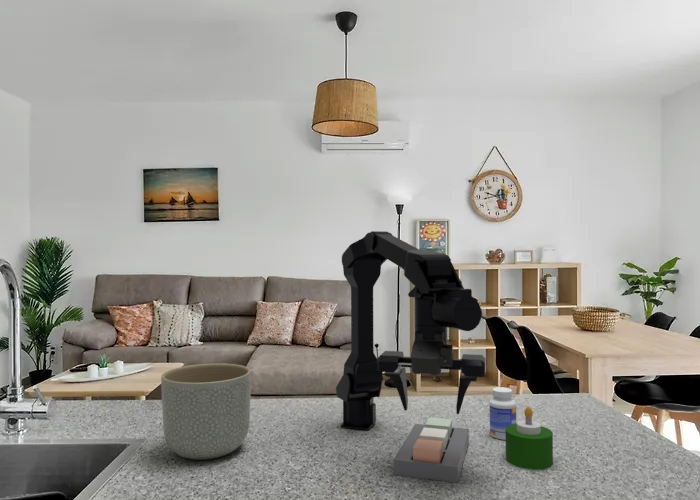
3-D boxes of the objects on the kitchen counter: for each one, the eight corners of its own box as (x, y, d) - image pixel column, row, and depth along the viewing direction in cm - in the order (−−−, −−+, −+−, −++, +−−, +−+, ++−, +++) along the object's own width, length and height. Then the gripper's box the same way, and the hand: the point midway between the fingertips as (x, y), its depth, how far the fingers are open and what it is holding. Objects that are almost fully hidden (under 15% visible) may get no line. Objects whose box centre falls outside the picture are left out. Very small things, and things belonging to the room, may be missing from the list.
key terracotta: (412, 461, 93) (412, 447, 93) (417, 451, 98) (417, 438, 98) (439, 464, 92) (439, 450, 92) (443, 454, 96) (443, 441, 96)
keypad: (393, 474, 93) (393, 459, 93) (415, 436, 112) (415, 423, 112) (457, 482, 90) (457, 467, 90) (468, 441, 109) (468, 428, 109)
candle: (529, 473, 93) (529, 416, 93) (496, 457, 101) (495, 404, 101) (562, 464, 97) (562, 409, 97) (528, 449, 105) (528, 398, 105)
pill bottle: (517, 441, 109) (517, 393, 109) (490, 439, 110) (490, 392, 110) (515, 432, 114) (514, 386, 114) (488, 430, 115) (488, 385, 115)
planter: (266, 440, 110) (266, 366, 110) (220, 473, 94) (220, 386, 94) (196, 431, 116) (196, 361, 116) (142, 461, 100) (141, 379, 100)
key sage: (425, 436, 106) (425, 424, 106) (429, 428, 110) (429, 417, 110) (449, 438, 104) (449, 426, 104) (452, 431, 108) (452, 419, 108)
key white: (419, 448, 99) (419, 435, 99) (424, 439, 104) (423, 427, 104) (444, 450, 98) (444, 437, 98) (447, 442, 102) (447, 429, 102)
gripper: (369, 328, 90) (370, 421, 90) (483, 332, 85) (484, 430, 85) (383, 320, 101) (383, 403, 101) (485, 323, 96) (486, 410, 96)
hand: (431, 411), depth 95 cm, fingers open, 9 cm apart
